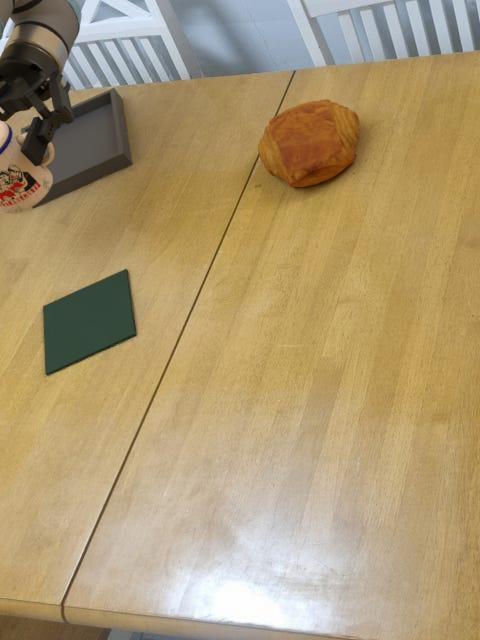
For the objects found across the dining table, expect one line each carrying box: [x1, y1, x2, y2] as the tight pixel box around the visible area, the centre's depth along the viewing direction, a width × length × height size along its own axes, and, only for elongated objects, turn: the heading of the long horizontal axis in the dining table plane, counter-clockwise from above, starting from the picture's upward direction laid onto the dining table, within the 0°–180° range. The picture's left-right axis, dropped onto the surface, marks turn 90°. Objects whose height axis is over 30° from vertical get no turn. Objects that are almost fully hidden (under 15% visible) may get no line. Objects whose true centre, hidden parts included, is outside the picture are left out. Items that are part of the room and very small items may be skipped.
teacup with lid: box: [0, 121, 54, 214], centre depth 98 cm, size 12×9×12 cm
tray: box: [20, 87, 133, 209], centre depth 124 cm, size 18×20×2 cm
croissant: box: [257, 99, 361, 188], centre depth 108 cm, size 14×16×8 cm
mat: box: [42, 268, 137, 376], centre depth 102 cm, size 13×13×1 cm
